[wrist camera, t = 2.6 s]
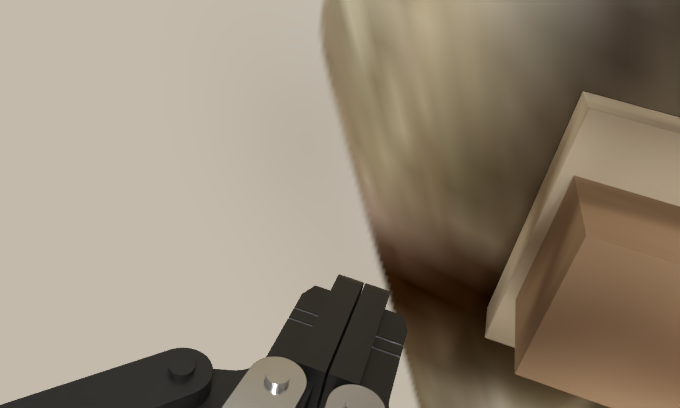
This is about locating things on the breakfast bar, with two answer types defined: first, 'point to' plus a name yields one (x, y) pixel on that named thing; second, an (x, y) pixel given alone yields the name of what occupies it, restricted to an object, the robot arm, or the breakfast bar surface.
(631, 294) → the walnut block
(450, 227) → the breakfast bar surface
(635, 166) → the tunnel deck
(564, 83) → the breakfast bar surface
